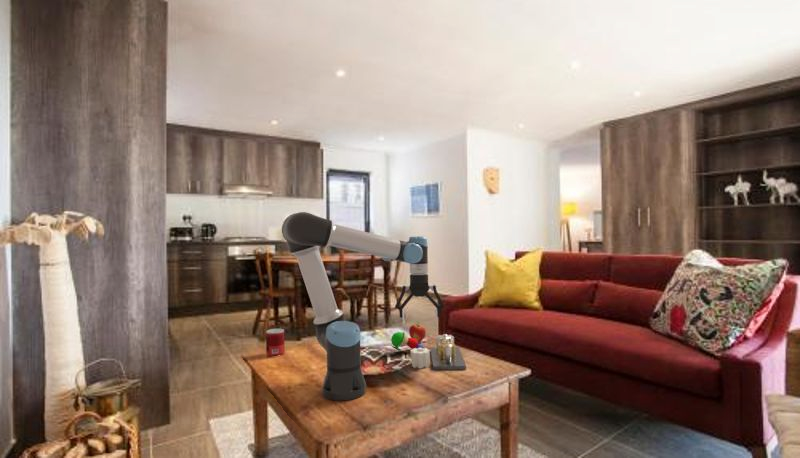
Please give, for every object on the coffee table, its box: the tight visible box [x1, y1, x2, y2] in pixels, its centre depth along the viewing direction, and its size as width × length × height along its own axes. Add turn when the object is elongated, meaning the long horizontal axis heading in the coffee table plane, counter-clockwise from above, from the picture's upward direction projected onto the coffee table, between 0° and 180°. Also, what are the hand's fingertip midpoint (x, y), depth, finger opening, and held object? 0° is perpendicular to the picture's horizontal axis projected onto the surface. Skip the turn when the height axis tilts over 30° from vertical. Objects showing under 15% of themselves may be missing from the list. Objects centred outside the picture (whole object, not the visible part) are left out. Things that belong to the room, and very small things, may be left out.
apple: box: [408, 323, 427, 342], centre depth 202 cm, size 8×8×10 cm
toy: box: [390, 331, 425, 351], centre depth 185 cm, size 8×8×15 cm
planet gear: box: [410, 347, 431, 369], centre depth 167 cm, size 8×8×6 cm
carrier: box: [429, 333, 467, 371], centre depth 173 cm, size 13×25×8 cm, turn 178°
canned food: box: [265, 328, 285, 357], centre depth 185 cm, size 8×8×11 cm
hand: (420, 325), depth 167 cm, fingers open, 13 cm apart
